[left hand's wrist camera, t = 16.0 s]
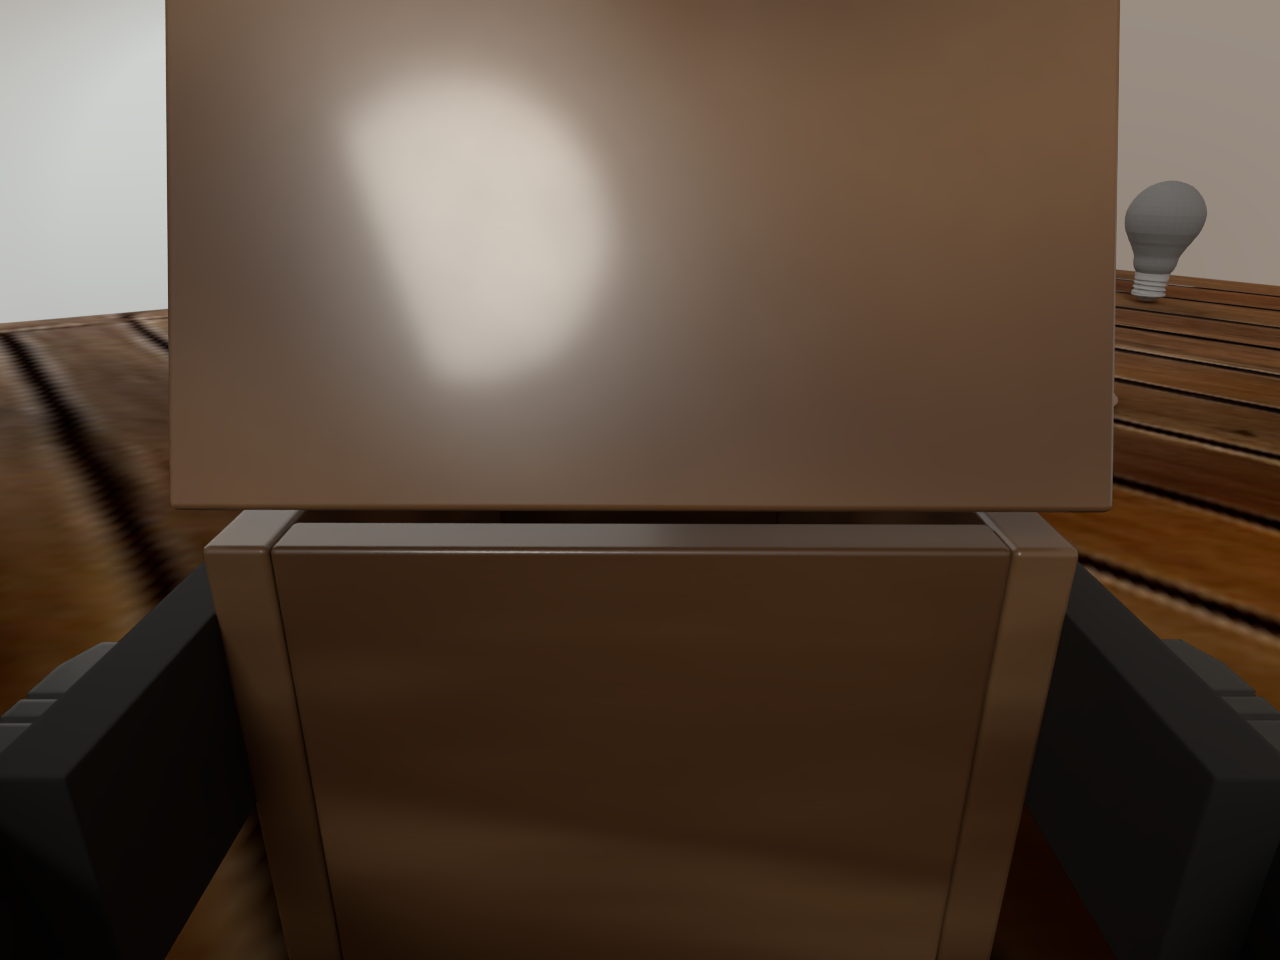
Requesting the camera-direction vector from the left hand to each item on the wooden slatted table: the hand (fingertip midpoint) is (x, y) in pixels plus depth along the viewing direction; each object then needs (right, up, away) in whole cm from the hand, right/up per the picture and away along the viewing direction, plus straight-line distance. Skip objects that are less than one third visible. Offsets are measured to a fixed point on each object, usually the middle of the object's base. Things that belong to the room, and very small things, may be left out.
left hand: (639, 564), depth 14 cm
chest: (0, -5, +6) cm, 7 cm away
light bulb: (+45, +17, +62) cm, 79 cm away
